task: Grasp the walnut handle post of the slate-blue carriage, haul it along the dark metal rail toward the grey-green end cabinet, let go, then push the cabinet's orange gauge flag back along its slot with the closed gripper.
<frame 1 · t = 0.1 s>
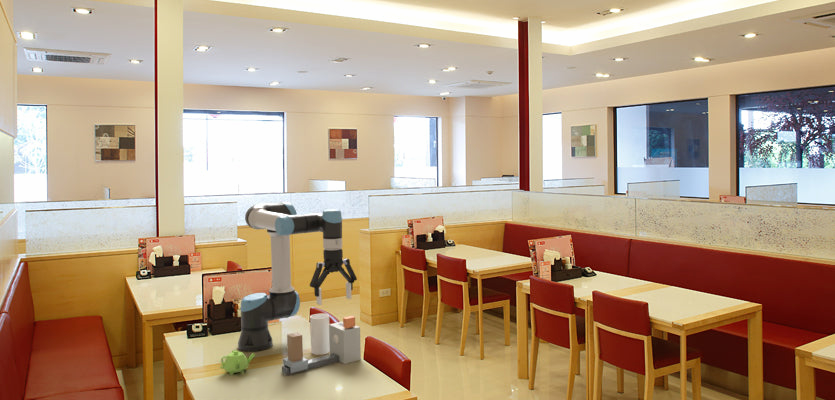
hand: (334, 301, 231), 28 cm above the table, fingers open, 13 cm apart
gauge flag: (349, 322, 241), point 16 cm above the table, slide at 0.0 cm
rail: (311, 366, 236), on the table
cup: (320, 352, 254), on the table
cabinet: (345, 357, 246), on the table
carriage: (295, 351, 231), point 8 cm above the table, slide at 0.0 cm
teapot: (238, 371, 232), on the table
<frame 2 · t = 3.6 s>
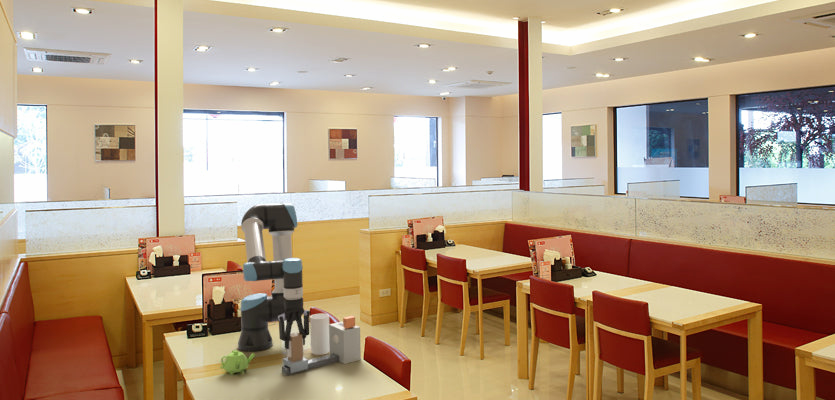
hand: (295, 354, 231), 7 cm above the table, fingers closed on carriage, 4 cm apart
carriage: (295, 351, 231), point 8 cm above the table, slide at 0.0 cm, touching gripper
everything else where it was.
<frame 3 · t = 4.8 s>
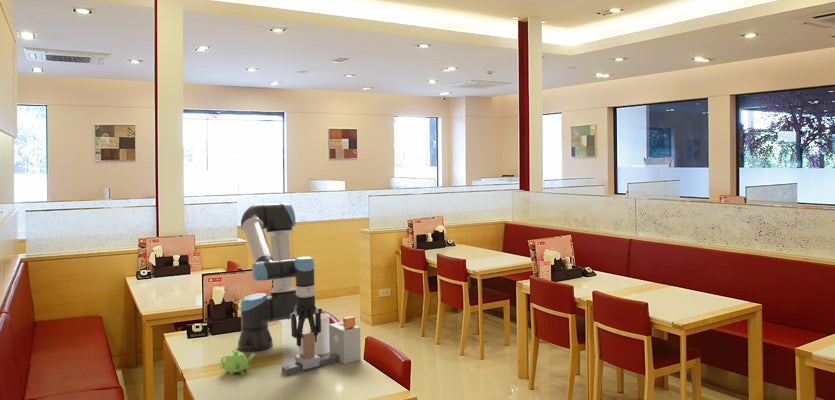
hand: (307, 351, 234), 7 cm above the table, fingers closed on carriage, 4 cm apart
carriage: (306, 348, 234), point 8 cm above the table, slide at 5.2 cm, touching gripper
everything else where it was.
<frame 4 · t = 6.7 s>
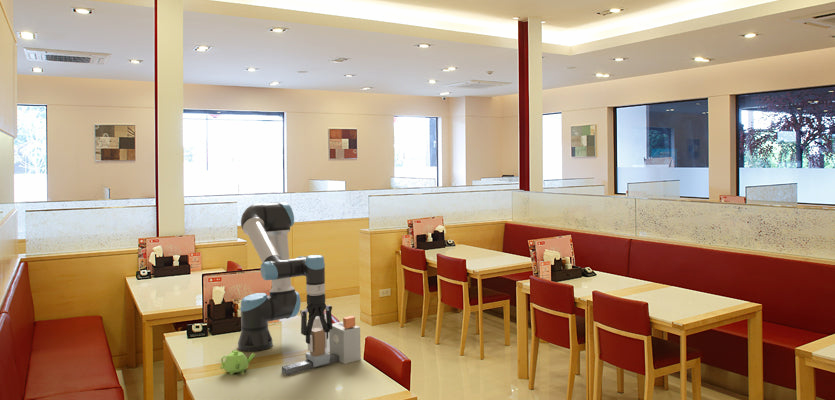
hand: (317, 348, 237), 7 cm above the table, fingers open, 6 cm apart
carriage: (317, 346, 237), point 8 cm above the table, slide at 10.0 cm
everything else where it was.
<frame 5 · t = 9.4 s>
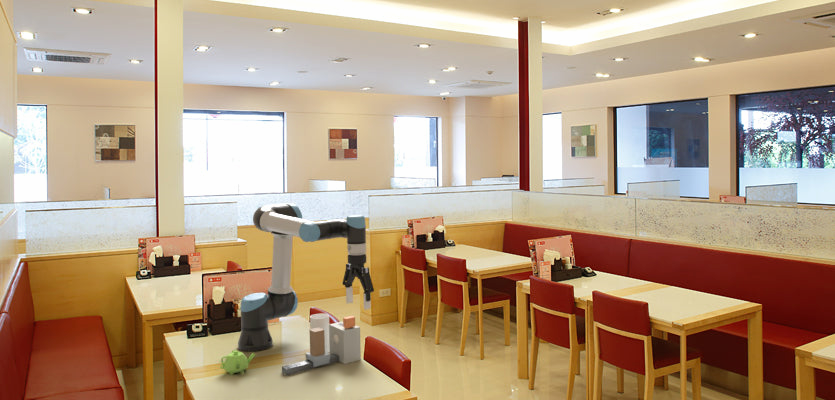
hand: (358, 305, 234), 25 cm above the table, fingers open, 12 cm apart
nothing on the table moved.
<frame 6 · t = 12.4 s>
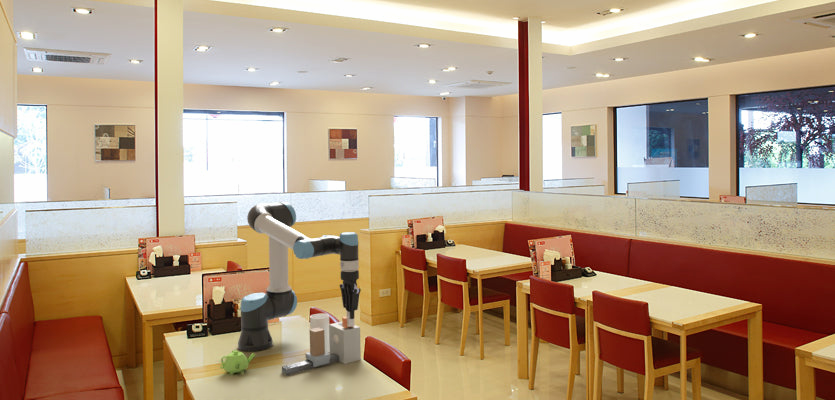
hand: (350, 325, 241), 15 cm above the table, fingers closed
gauge flag: (348, 321, 242), point 16 cm above the table, slide at 0.7 cm, touching gripper
everything else where it was.
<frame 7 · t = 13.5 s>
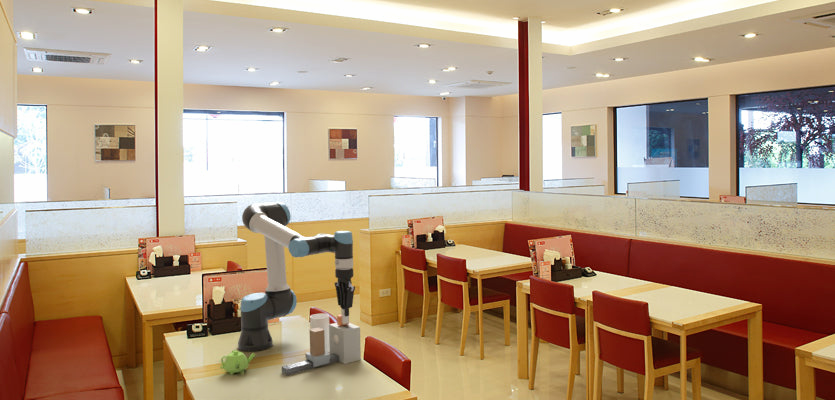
hand: (345, 323, 244), 15 cm above the table, fingers closed
gauge flag: (343, 319, 245), point 16 cm above the table, slide at 4.9 cm, touching gripper
everything else where it was.
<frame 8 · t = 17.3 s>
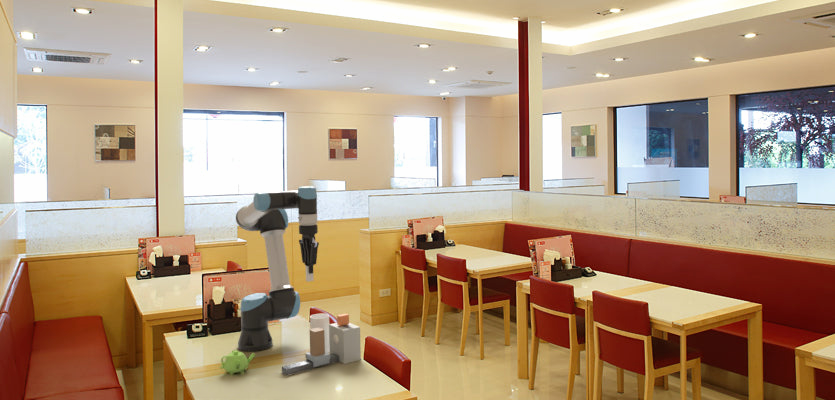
hand: (309, 280, 239), 34 cm above the table, fingers closed
gauge flag: (343, 319, 245), point 16 cm above the table, slide at 4.9 cm
everything else where it was.
at the end: carriage slide at 10.0 cm; gauge flag slide at 4.9 cm; the gripper is holding nothing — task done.
